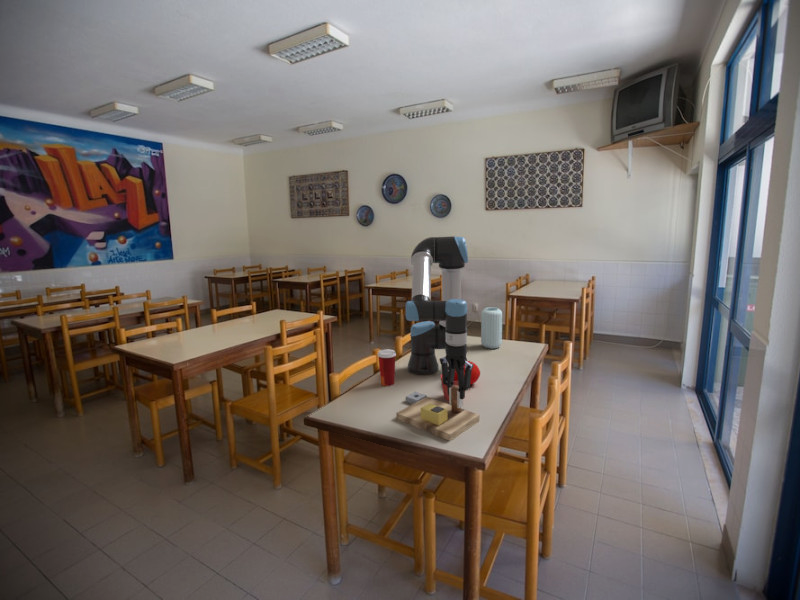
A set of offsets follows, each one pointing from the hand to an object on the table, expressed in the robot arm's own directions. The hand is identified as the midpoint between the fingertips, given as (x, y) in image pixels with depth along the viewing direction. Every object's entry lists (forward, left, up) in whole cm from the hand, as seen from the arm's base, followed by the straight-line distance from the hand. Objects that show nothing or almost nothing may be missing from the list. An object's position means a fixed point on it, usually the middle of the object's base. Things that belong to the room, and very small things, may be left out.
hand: (456, 405), depth 148 cm
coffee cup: (-42, +7, -5) cm, 43 cm away
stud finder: (-2, -10, -2) cm, 11 cm away
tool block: (-20, +1, -5) cm, 21 cm away
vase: (-34, +84, -5) cm, 91 cm away
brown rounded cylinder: (0, 0, -4) cm, 4 cm away
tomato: (-15, +29, -5) cm, 33 cm away
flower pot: (-10, +13, -5) cm, 17 cm away
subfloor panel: (-4, -6, -5) cm, 9 cm away
